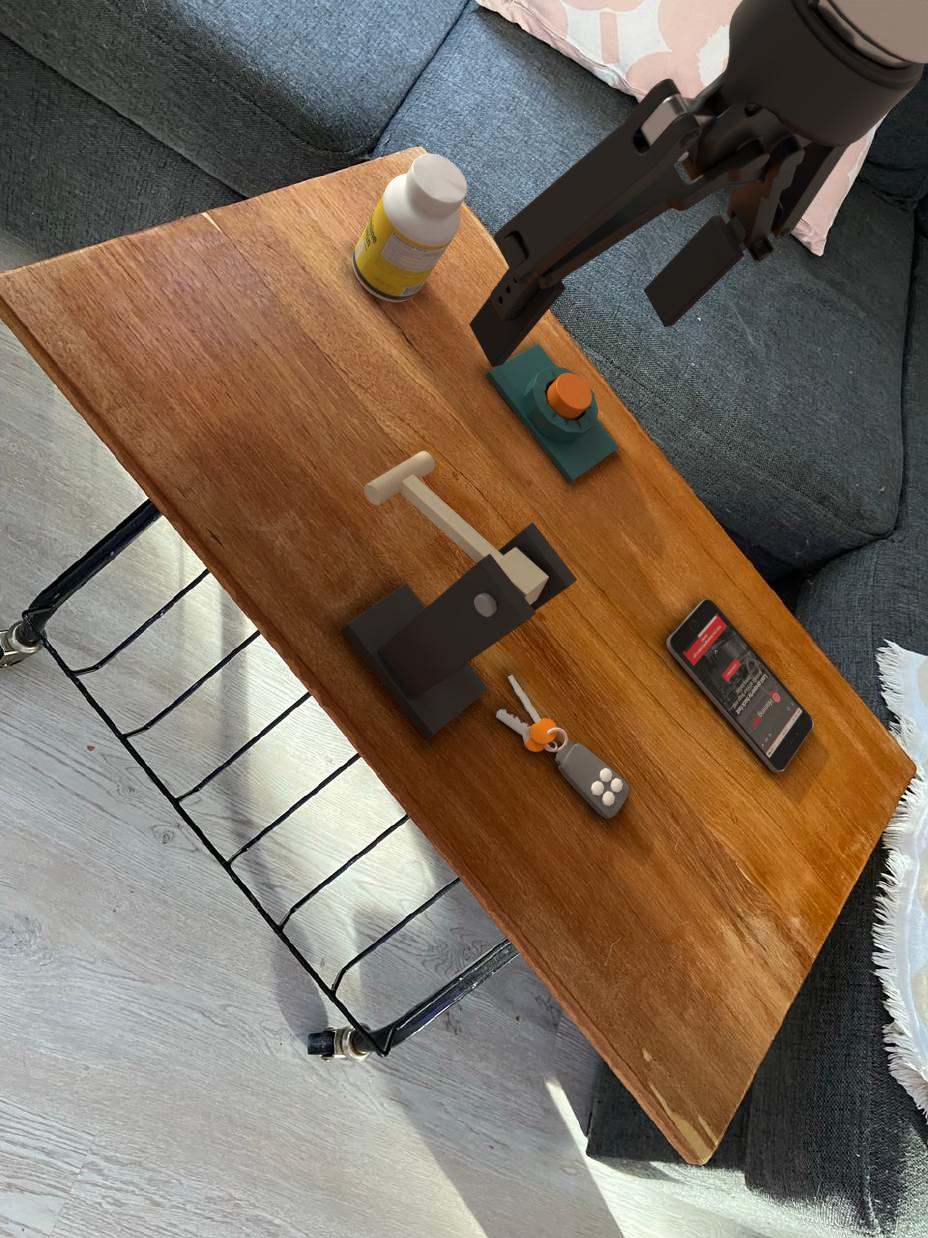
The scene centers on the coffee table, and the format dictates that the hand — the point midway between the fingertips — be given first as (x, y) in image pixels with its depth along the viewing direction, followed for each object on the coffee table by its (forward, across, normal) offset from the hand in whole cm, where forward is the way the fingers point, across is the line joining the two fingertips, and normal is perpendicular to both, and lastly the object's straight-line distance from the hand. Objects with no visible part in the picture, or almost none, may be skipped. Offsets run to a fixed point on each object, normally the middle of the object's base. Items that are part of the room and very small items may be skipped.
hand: (577, 325), depth 56 cm
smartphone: (+25, +23, -24) cm, 41 cm away
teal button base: (+25, +18, +5) cm, 32 cm away
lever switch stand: (+25, -6, -11) cm, 28 cm away
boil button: (+23, +19, +5) cm, 30 cm away
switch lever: (+12, -6, -7) cm, 15 cm away
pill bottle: (+25, +9, +21) cm, 34 cm away
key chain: (+25, +2, -21) cm, 33 cm away
